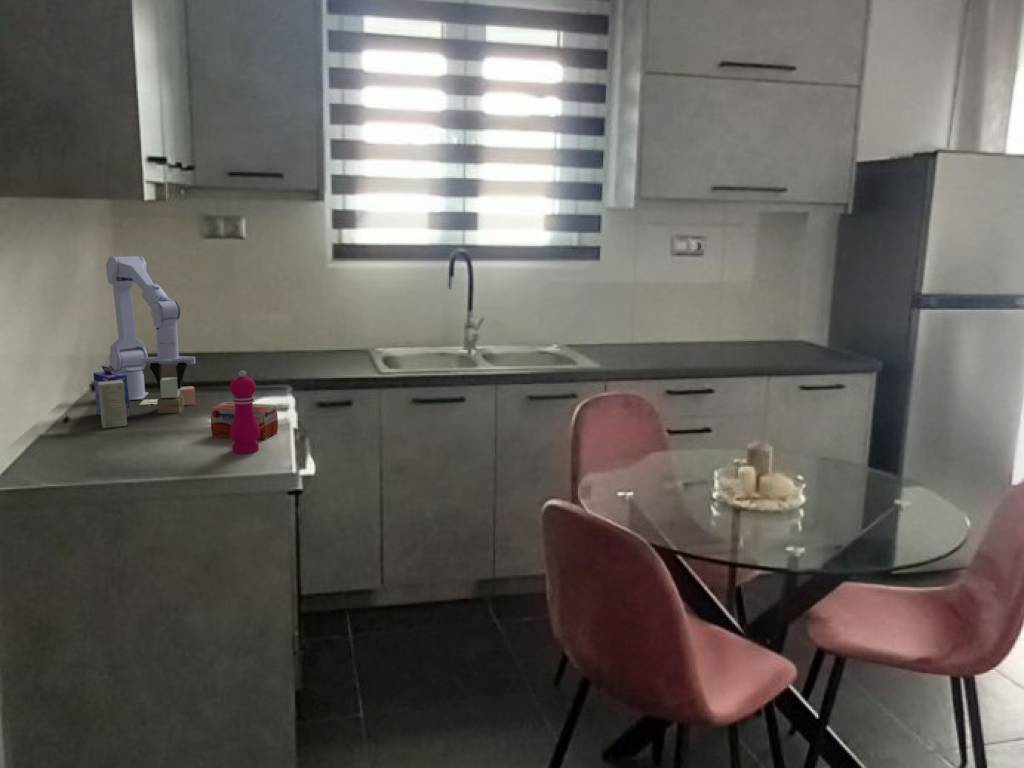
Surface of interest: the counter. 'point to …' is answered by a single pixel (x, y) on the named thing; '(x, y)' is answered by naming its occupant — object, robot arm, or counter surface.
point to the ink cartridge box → (111, 376)
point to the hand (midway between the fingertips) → (170, 388)
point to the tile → (149, 402)
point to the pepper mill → (244, 415)
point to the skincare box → (112, 403)
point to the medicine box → (225, 415)
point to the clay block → (188, 395)
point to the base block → (171, 404)
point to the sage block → (169, 388)
